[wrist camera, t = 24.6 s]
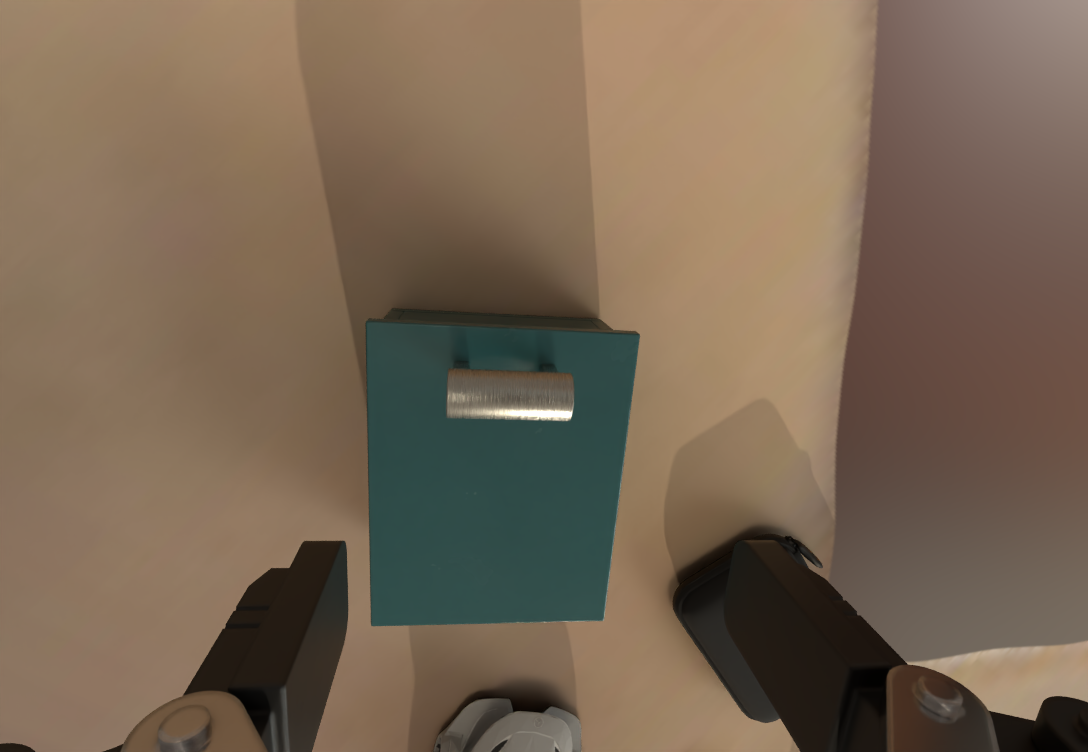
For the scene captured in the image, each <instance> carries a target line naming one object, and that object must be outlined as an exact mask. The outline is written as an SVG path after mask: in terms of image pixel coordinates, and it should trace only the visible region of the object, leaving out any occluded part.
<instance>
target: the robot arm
mask: <svg viewBox="0 0 1088 752" xmlns="http://www.w3.org/2000/svg"><path fill="white" fill-rule="evenodd" d="M723 611H724V620H725V624H726V628H727V630H728V633H729V635H730V637H731V638H732V640H733V642H734V643H735V645H736V646H737V648H738V650H739V651H740V653H741V655H742V656H743V658H744V660H745V661H746V663H747V664H748V666H749V668H750V669H751V671H752V673H753V674H754V676H755V678H756V679H757V681H758V683H759V684H760V686H761V687H762V689H763V691H764V692H765V694H766V696H767V697H768V699H769V701H770V702H771V704H772V705H773V707H774V709H775V710H776V712H777V714H778V715H779V717H780V719H781V720H782V722H783V724H784V725H785V727H786V728H787V730H788V732H789V733H790V735H791V737H792V738H793V740H794V742H795V743H796V745H797V746H798V748H799V750H800V751H801V752H1088V702H1085V701H1082V700H1078V699H1075V698H1070V697H1062V696H1054V697H1049V698H1047V699H1045V700H1044V701H1043V703H1042V705H1041V708H1040V710H1039V713H1038V716H1037V718H1036V721H1033V720H1028V719H1024V718H1019V717H1014V716H1010V715H1005V714H1001V713H996V712H991V711H988V710H987V708H986V707H985V705H984V704H983V703H982V702H981V700H980V699H979V698H978V697H977V696H976V695H974V694H973V693H972V692H971V691H970V690H968V689H967V688H966V687H964V686H963V685H961V684H960V683H958V682H957V681H955V680H953V679H952V678H950V677H948V676H946V675H944V674H942V673H939V672H937V671H934V670H931V669H928V668H925V667H921V666H915V665H908V664H907V663H906V662H905V661H904V660H903V659H902V658H901V657H900V656H899V655H898V654H897V653H896V652H895V651H894V650H893V649H892V648H891V647H890V646H889V645H888V644H887V642H885V641H884V640H883V638H882V637H881V636H880V635H879V634H878V633H877V632H876V631H875V630H874V629H873V628H872V627H871V626H870V625H869V624H868V623H867V622H866V621H865V620H864V619H863V618H862V617H861V616H858V615H857V611H856V610H855V609H854V608H853V607H852V606H851V605H850V604H849V603H848V602H847V601H843V597H842V596H841V595H840V594H839V593H838V592H837V591H836V590H835V589H834V588H833V587H832V586H831V584H830V583H829V582H828V581H827V580H826V579H824V578H823V577H821V576H820V575H818V574H816V573H815V572H813V571H812V570H810V569H809V568H807V567H805V566H804V565H802V564H798V563H797V562H796V561H795V560H794V559H793V558H792V557H791V556H790V555H789V554H788V552H787V551H786V550H785V549H784V548H783V547H782V546H781V545H780V544H779V543H778V542H776V541H774V540H741V541H738V542H737V543H736V545H735V547H734V550H733V555H732V560H731V566H730V571H729V576H728V582H727V587H726V593H725V598H724V606H723ZM347 622H348V581H347V549H346V543H345V541H304V542H303V543H302V545H301V547H300V549H299V550H298V552H297V554H296V556H295V558H294V560H293V562H292V564H291V566H290V568H271V569H270V570H268V571H267V572H266V573H265V574H263V575H262V576H261V577H260V578H258V579H257V580H256V581H255V582H253V583H252V584H251V585H250V586H249V587H248V588H247V590H246V592H245V593H244V595H243V597H242V598H241V600H240V602H239V603H238V605H237V607H236V611H233V613H232V615H231V616H230V618H229V620H228V621H227V623H226V627H225V629H223V630H222V631H221V633H220V635H219V636H218V638H217V640H216V641H215V643H214V645H213V646H212V648H211V650H210V651H209V653H208V655H207V656H206V658H205V660H204V661H203V663H202V665H201V666H200V668H199V670H198V671H197V673H196V675H195V676H194V678H193V680H192V681H191V683H190V685H189V686H188V688H187V690H186V691H185V693H184V695H183V696H181V697H179V698H176V699H174V700H172V701H170V702H168V703H166V704H164V705H162V706H160V707H159V708H157V709H156V710H154V711H153V712H151V713H150V714H149V715H147V716H146V717H145V718H144V719H143V720H142V721H140V722H139V723H138V724H137V725H136V726H135V728H134V729H133V730H132V731H131V732H130V734H129V735H128V737H127V738H126V740H125V742H124V744H122V745H120V746H117V747H115V748H112V749H109V750H106V751H103V752H312V749H313V746H314V742H315V739H316V736H317V732H318V729H319V726H320V722H321V719H322V715H323V712H324V709H325V705H326V702H327V699H328V695H329V692H330V689H331V685H332V682H333V679H334V675H335V672H336V669H337V665H338V662H339V659H340V655H341V652H342V649H343V645H344V641H345V636H346V630H347ZM0 752H35V751H34V750H33V749H31V748H30V747H28V746H25V745H22V744H15V743H6V744H0Z"/></svg>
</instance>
